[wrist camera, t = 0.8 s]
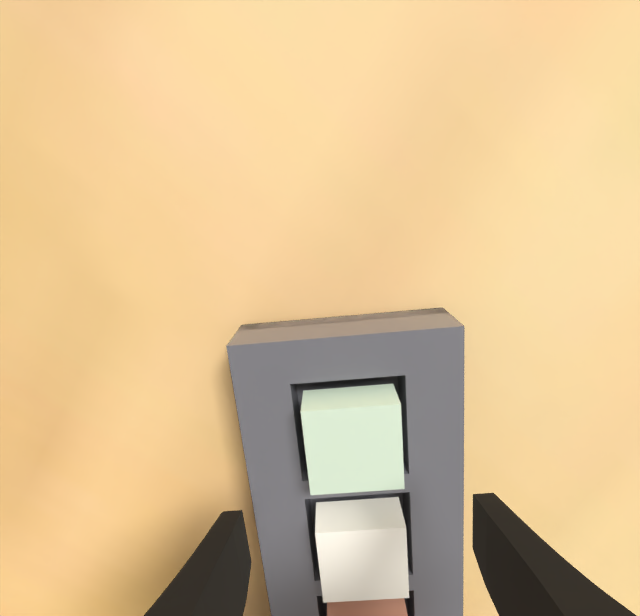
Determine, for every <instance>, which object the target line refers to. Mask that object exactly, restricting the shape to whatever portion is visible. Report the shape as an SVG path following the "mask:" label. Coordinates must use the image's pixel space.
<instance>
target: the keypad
mask: <svg viewBox="0 0 640 616" xmlns="http://www.w3.org/2000/svg"><path fill="white" fill-rule="evenodd" d="M226 347H227V353H228V359H229V365H230V371H231V377H232V383H233V389H234V395H235V401H236V407H237V413H238V419H239V425H240V430H241V436H242V442H243V448H244V454H245V460H246V466H247V472H248V478H249V484H250V490H251V496H252V502H253V508H254V514H255V520H256V526H257V532H258V538H259V544H260V550H261V556H262V562H263V568H264V574H265V580H266V586H267V592H268V598H269V604H270V610H271V616H327V603H323V596H322V587H321V579H320V571H319V562H318V554H317V546H316V537H315V520H316V502H330V501H345V500H360V499H375V498H390V497H399V501H400V505H401V509H402V513H403V517H404V520H405V524H406V533H407V556H408V579H409V598H404V599H405V604H406V609H407V614H408V616H463V512H464V325H462V324H461V323H460V322H459V321H458V320H457V319H455V318H454V317H453V316H452V315H451V314H449V313H448V312H447V311H446V310H445V309H444V308H433V309H421V310H409V311H398V312H386V313H374V314H363V315H351V316H339V317H328V318H316V319H304V320H292V321H281V322H269V323H257V324H246V325H241V326H240V328H239V329H238V331H237V332H236V333H235V335H234V336H233V338H232V339H231V340H230V342H229V343H228V344H227V346H226ZM381 384H393V385H394V387H395V390H396V392H397V395H398V398H399V400H400V403H401V416H402V440H403V463H404V486H405V489H397V490H382V491H368V492H353V493H338V494H323V495H310V487H309V478H308V470H307V462H306V453H305V445H304V436H303V428H302V420H301V404H302V396H303V391H304V390H317V389H330V388H343V387H356V386H368V385H381Z"/></svg>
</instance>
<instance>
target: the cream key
mask: <svg viewBox="0 0 640 616" xmlns="http://www.w3.org/2000/svg"><path fill="white" fill-rule="evenodd" d="M315 537H316V546H317V554H318V562H319V571H320V579H321V587H322V596H323V603H327V602H345V601H363V600H380V599H398V598H409V579H408V556H407V533H406V524H405V520H404V517H403V513H402V509H401V505H400V501H399V497H390V498H375V499H360V500H345V501H330V502H316V520H315Z"/></svg>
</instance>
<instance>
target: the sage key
mask: <svg viewBox="0 0 640 616" xmlns="http://www.w3.org/2000/svg"><path fill="white" fill-rule="evenodd" d="M301 420H302V428H303V436H304V445H305V453H306V462H307V470H308V478H309V487H310V495H323V494H338V493H353V492H368V491H382V490H397V489H405V486H404V463H403V440H402V416H401V403H400V400H399V398H398V395H397V392H396V390H395V387H394V385H393V384H381V385H368V386H356V387H343V388H330V389H317V390H304V391H303V396H302V404H301Z"/></svg>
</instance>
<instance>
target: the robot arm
mask: <svg viewBox="0 0 640 616" xmlns="http://www.w3.org/2000/svg"><path fill="white" fill-rule="evenodd" d="M473 550H474V553H475V556H476V559H477V562H478V565H479V568H480V571H481V574H482V577H483V580H484V582H485V585H486V588H487V590H488V592H489V594H490V596H491V599H492V601H493V603H494V605H495V607H496V610H497V612H498V614H499V616H636V615H635V614H634V613H632V612H631V611H629V610H628V609H627V608H625V607H624V606H623V605H621V604H620V603H619V602H617V601H616V600H615V599H613V598H612V597H610V596H609V595H608V594H606V593H605V592H604V591H603V590H601V589H600V588H599V587H597V586H596V585H595V584H594V583H592V582H591V581H590V580H589V579H588V578H586V577H585V576H584V575H583V574H582V573H580V572H579V571H578V570H577V569H576V568H574V567H573V566H572V565H571V564H570V563H568V562H567V561H566V560H565V559H564V558H563V557H561V556H560V555H559V554H558V553H557V552H556V551H555V550H554V549H553V548H551V547H550V546H549V545H548V544H547V543H546V542H545V541H544V540H542V539H541V538H540V537H539V536H538V535H537V534H536V533H535V532H534V531H533V530H532V529H531V528H530V527H528V526H527V525H526V524H525V523H524V522H523V521H522V520H521V519H520V518H519V517H518V516H517V515H516V514H515V513H514V512H513V511H512V510H511V509H510V508H509V507H508V506H507V505H506V504H504V503H503V502H502V501H501V500H500V499H499V498H498V497H497V496H496V495H495V494H494V493H485V494H473ZM250 569H251V557H250V551H249V546H248V540H247V535H246V529H245V524H244V518H243V513H242V510H239V511H225V512H222V513H221V514H220V516H219V517H218V519H217V520H216V522H215V523H214V524H213V526H212V527H211V529H210V530H209V532H208V533H207V535H206V536H205V537H204V539H203V540H202V542H201V543H200V545H199V546H198V547H197V549H196V550H195V552H194V553H193V554H192V556H191V557H190V558H189V560H188V561H187V562H186V564H185V565H184V566H183V568H182V569H181V570H180V572H179V573H178V574H177V576H176V577H175V578H174V579H173V581H172V582H171V583H170V584H169V586H168V587H167V588H166V589H165V591H164V592H163V593H162V594H161V596H160V597H159V598H158V599H157V600H156V602H155V603H154V604H153V605H152V607H151V608H150V609H149V610H148V611H147V612H146V614H145V615H144V616H243V612H244V607H245V603H246V598H247V591H248V584H249V577H250Z"/></svg>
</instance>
